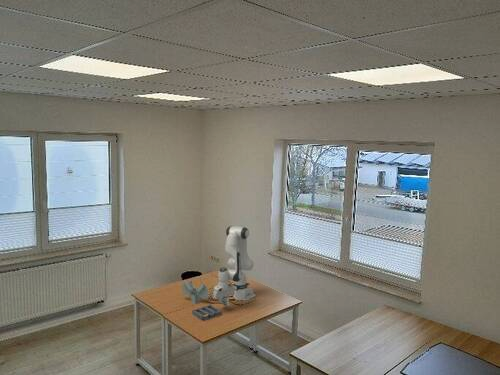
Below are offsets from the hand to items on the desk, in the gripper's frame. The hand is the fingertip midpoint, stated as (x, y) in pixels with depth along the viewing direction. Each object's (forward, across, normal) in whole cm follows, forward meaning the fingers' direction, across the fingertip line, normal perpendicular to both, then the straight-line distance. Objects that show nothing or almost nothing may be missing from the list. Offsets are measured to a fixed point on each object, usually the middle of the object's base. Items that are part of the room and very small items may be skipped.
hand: (223, 301), depth 345 cm
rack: (+8, +17, -2) cm, 19 cm away
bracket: (+9, +11, -31) cm, 35 cm away
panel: (+3, 0, 0) cm, 3 cm away
